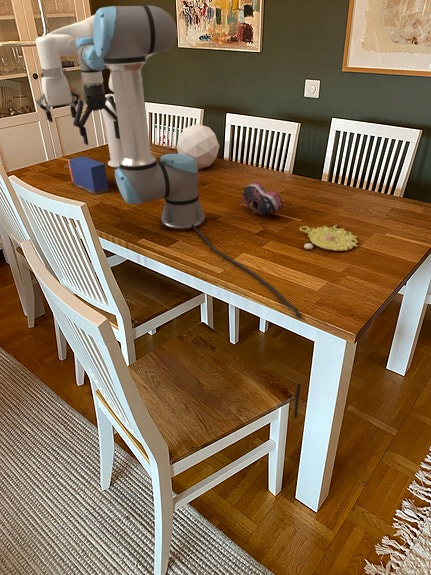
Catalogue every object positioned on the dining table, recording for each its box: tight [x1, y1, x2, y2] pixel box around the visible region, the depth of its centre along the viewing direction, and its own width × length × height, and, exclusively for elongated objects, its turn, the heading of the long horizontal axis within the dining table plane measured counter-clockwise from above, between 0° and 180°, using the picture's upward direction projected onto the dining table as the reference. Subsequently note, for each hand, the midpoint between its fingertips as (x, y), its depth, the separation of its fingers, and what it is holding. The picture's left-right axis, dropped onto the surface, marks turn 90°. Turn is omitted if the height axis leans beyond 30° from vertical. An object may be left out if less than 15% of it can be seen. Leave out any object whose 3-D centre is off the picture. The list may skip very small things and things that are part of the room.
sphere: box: [175, 123, 221, 170], centre depth 203 cm, size 19×20×20 cm
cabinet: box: [68, 155, 110, 195], centre depth 186 cm, size 17×7×11 cm, turn 44°
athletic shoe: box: [238, 182, 284, 217], centre depth 160 cm, size 11×22×12 cm
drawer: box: [63, 159, 74, 183], centre depth 190 cm, size 22×5×9 cm, turn 44°
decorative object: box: [299, 224, 359, 252], centre depth 141 cm, size 21×2×20 cm
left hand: (62, 119), depth 179 cm, fingers open, 9 cm apart
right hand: (102, 141), depth 179 cm, fingers open, 13 cm apart
